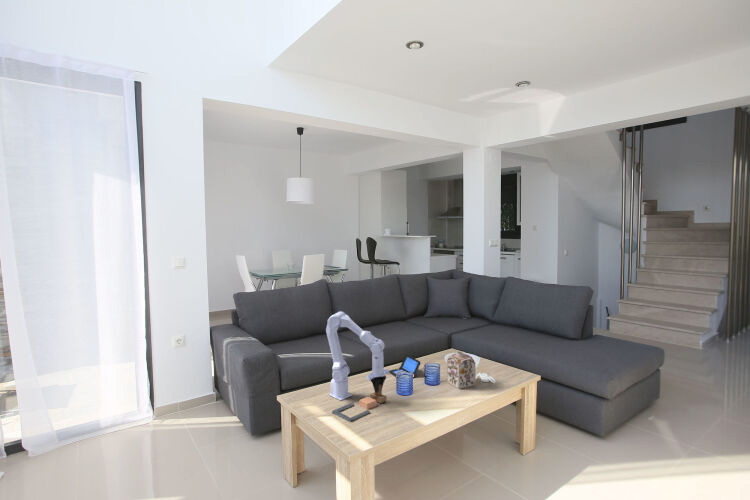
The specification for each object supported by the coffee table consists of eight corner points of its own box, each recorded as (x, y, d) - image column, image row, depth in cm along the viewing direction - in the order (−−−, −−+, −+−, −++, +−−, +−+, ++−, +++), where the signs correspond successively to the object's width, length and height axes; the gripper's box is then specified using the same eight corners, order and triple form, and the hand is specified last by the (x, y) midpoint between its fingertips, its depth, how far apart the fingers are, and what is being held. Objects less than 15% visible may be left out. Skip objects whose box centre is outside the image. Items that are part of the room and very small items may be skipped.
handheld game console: (388, 373, 251) (387, 358, 251) (406, 368, 258) (406, 354, 257) (402, 381, 238) (402, 365, 237) (421, 376, 244) (421, 361, 244)
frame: (332, 412, 199) (332, 410, 198) (351, 404, 207) (351, 402, 207) (350, 421, 189) (350, 419, 189) (369, 412, 198) (369, 410, 198)
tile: (359, 405, 207) (359, 400, 206) (368, 402, 210) (368, 396, 210) (367, 409, 202) (367, 403, 202) (376, 406, 206) (376, 400, 206)
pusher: (370, 399, 213) (369, 383, 212) (375, 396, 216) (375, 381, 215) (381, 403, 207) (380, 387, 207) (386, 400, 210) (386, 385, 210)
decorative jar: (446, 382, 235) (446, 351, 234) (462, 378, 240) (463, 348, 239) (458, 389, 224) (458, 357, 223) (476, 386, 229) (476, 354, 228)
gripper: (373, 370, 202) (373, 397, 203) (393, 362, 212) (393, 388, 213) (363, 366, 207) (363, 393, 208) (383, 359, 217) (383, 384, 218)
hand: (378, 390), depth 211 cm, fingers closed on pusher, 2 cm apart
